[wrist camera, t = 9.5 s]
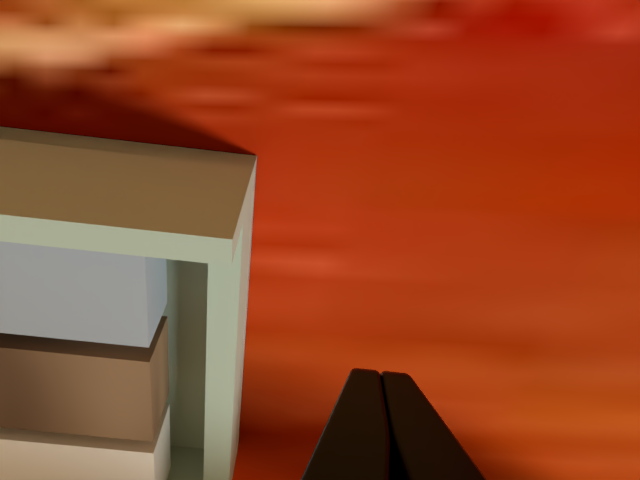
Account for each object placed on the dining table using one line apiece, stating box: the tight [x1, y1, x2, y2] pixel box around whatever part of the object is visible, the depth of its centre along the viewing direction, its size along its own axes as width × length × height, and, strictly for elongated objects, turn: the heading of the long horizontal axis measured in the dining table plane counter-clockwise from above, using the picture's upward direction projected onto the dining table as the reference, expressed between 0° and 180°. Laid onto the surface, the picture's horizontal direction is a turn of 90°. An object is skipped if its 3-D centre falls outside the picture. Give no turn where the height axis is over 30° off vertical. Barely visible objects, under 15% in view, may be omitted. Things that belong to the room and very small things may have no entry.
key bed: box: [0, 127, 257, 480], centre depth 21 cm, size 13×14×6 cm
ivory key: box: [0, 404, 171, 480], centre depth 22 cm, size 8×4×2 cm, turn 84°
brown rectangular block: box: [0, 316, 169, 442], centre depth 20 cm, size 8×4×2 cm, turn 83°
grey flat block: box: [0, 241, 167, 348], centre depth 18 cm, size 8×4×2 cm, turn 83°
